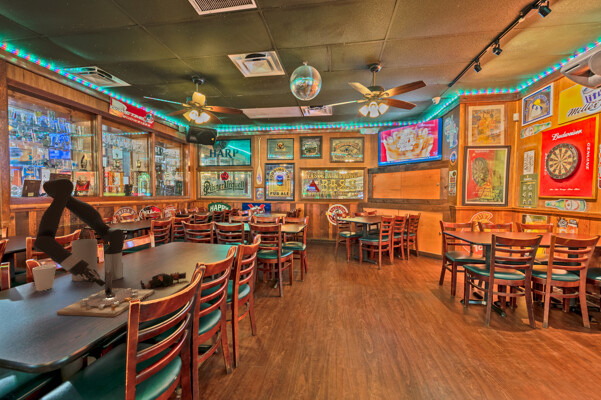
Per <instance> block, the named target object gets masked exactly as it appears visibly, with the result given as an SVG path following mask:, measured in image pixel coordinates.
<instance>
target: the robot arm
mask: <svg viewBox="0 0 601 400" xmlns="http://www.w3.org/2000/svg"><path fill="white" fill-rule="evenodd" d="M42 189H43V191H44V193H45V194H47V195H48V196H49V197H50V198H52V199H53V200H52V201H51V203H50V205H49V206H48V207H47V208H46V210H45V211H44V213H42V216H41V218H40V221H39V225H38V231H37V235H36V237H35V240H34V241H33V249H34V250H35V251H36V252H38V253H44V254H45V255H47V256H48V257H49V258H50V260H51V261H52V262H54V263H55V264H57V265H58V266H60V267H61V268H62V269H64V270H66V271H67V272H68V273H69V274H71V275H72V274H73V275H74V276H77V275H78V274H80V275H81V276H82V277H83V279H82V280H83V281H82V282H87V283H90V284H97V285H99V286H100V287H104V286H105V280H103V279H101V276H100V274H99V272H98V271H97V272H96V270H92V269H89V268H87V266H89V264H88V263H87V262H85V261H84V260H82V259H81V258H79V257H78V256H76V255H74V254H73V253H72V251H70V250H69V249H66V248H65V247H64V246H63V245H61V244H60V243H59V242H58V241H57V240H56V234H57V232H58V230H59V227H60V223H61V219H62V216H63V213H64V210H65V208H66V209H67V210H68V211H69V212H71V213H72V214H73V215H74V216H75V217H77V219H79V220H80V221H81V222H83V223H84V224H85V225H86V226H88V227H89V228H90V229H91V230H92V231H94V232H95V233H96V235H98V236H99V238H100V239H101V240H103V241H104V242H106V243H109V244H108V247H107V248H105V249H104V273H105V272H106V271H112V281H117V280H120V279H122V278H123V277H124V262H123V248H124V245H125V244H124V243H125V233H124V231H123V230H122V229H120V228H112V227H110V226H109V225H108V224H106V223H105V222H104V220H103V218H102V215H101V213H100V212H99V210H98V209H96V208H95V207H94V206H93V205H92V204H90V203H88V202H86V201H83V200H80V199H78V198H76V197H74V196H73V195H72V194H73V192H74V189H75V185H74V183H73V182H72V180H71V179H69V178H66V177H60V178H55V179H50V180H46V181H45V182H44V183H43V184H42Z"/></svg>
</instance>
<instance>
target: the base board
mask: <svg viewBox="0 0 601 400" xmlns="http://www.w3.org/2000/svg"><path fill="white" fill-rule="evenodd" d="M117 288H118V287H117ZM117 288H116V287H112V291H113V290H116V289H117ZM126 289H127V288H121V290H126ZM133 290H138V296H137V297H131V298H132V300H135V299H140V300H141V301H142V300H144V299H146V298H147V296H148V297H149V296H150V295H151V296H152V295H153V294H154V293H155V289H148V288H146V289H142V288H140V289H139V288H138V289H137V288H132V290H131V291H133ZM103 291H105V289H103V290H100V291H98V292H96V293H95V294H100V293H103ZM145 297H146V298H145ZM88 298H90V295H89V296H87V297H85V298H84V299H88ZM143 298H144V299H143ZM82 300H83V299H80V300H78V301H76V302H74V303H72V304H70V305H67V306H65V307H63V308H61V309H58V310H56V314H57V315H67V316H68V315H70V316H91V317H92V316H93V317H113V318H116V316H118V315H119V314H122V313H123V312H125V311H127V310H129V302H127V301H124V302H122V303H119V305H118V306H115V304H114V305H111V306H106V307H105V308H104V309H99V307H93V308H91V309H89V310H88V309H86V306H84V307H80V304H81V303H82ZM84 303H85V302H84Z"/></svg>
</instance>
